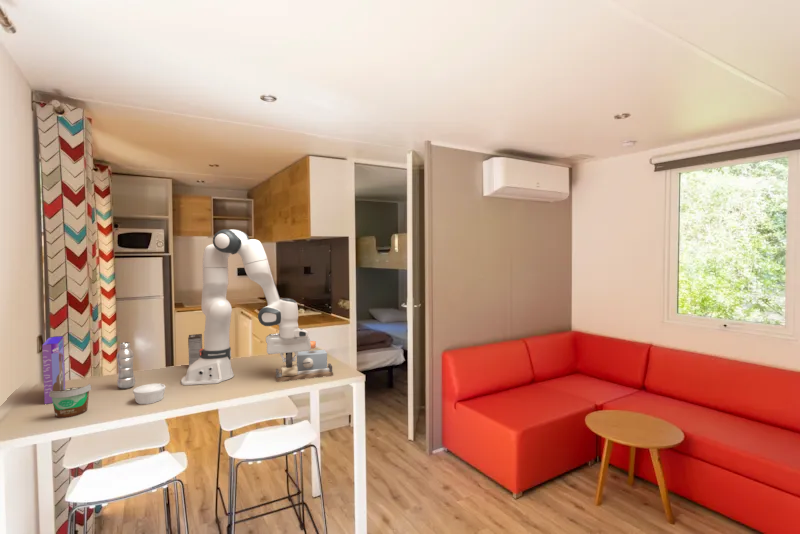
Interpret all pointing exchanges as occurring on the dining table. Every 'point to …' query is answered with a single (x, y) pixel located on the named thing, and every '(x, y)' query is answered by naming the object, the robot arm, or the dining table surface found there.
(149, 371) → the dining table surface
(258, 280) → the robot arm
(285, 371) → the carriage
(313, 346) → the button
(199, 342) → the coffee box
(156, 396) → the ramekin
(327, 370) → the rail
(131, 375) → the plastic bottle
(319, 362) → the gauge cabinet
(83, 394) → the food container
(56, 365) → the cereal box
